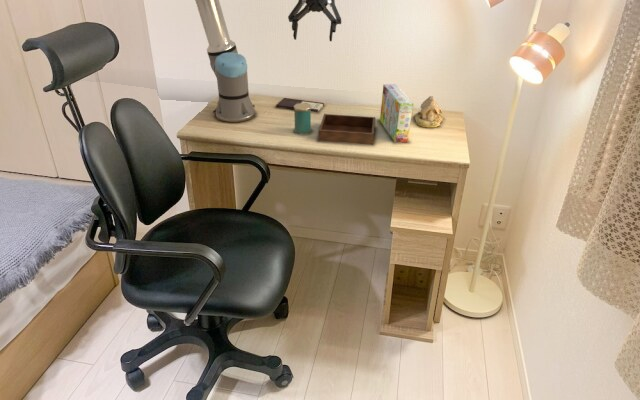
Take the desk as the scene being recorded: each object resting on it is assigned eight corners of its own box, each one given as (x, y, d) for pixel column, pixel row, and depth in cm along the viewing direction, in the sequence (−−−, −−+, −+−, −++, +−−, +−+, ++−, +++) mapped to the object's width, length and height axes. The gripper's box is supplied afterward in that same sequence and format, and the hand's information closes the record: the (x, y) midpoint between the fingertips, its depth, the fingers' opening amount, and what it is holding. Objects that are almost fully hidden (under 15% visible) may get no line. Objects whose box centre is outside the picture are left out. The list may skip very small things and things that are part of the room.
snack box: (409, 142, 173) (414, 102, 165) (394, 143, 172) (398, 103, 164) (392, 119, 191) (396, 82, 183) (378, 120, 190) (381, 83, 182)
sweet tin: (292, 134, 178) (292, 108, 172) (295, 127, 183) (295, 102, 178) (309, 135, 177) (309, 109, 172) (312, 128, 182) (312, 103, 177)
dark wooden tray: (318, 141, 173) (318, 130, 170) (323, 124, 186) (324, 113, 183) (372, 145, 171) (373, 134, 168) (374, 127, 184) (375, 117, 181)
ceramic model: (414, 113, 197) (417, 89, 191) (442, 115, 195) (445, 91, 190) (414, 127, 185) (418, 102, 179) (444, 129, 183) (448, 104, 178)
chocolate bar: (284, 97, 207) (323, 102, 202) (284, 99, 207) (323, 105, 203) (276, 104, 199) (317, 110, 195) (276, 107, 200) (317, 112, 195)
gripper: (285, -19, 182) (278, 31, 177) (350, -17, 179) (345, 34, 175) (288, -6, 189) (281, 42, 185) (350, -4, 187) (345, 45, 182)
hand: (312, 38), depth 180 cm, fingers open, 13 cm apart
